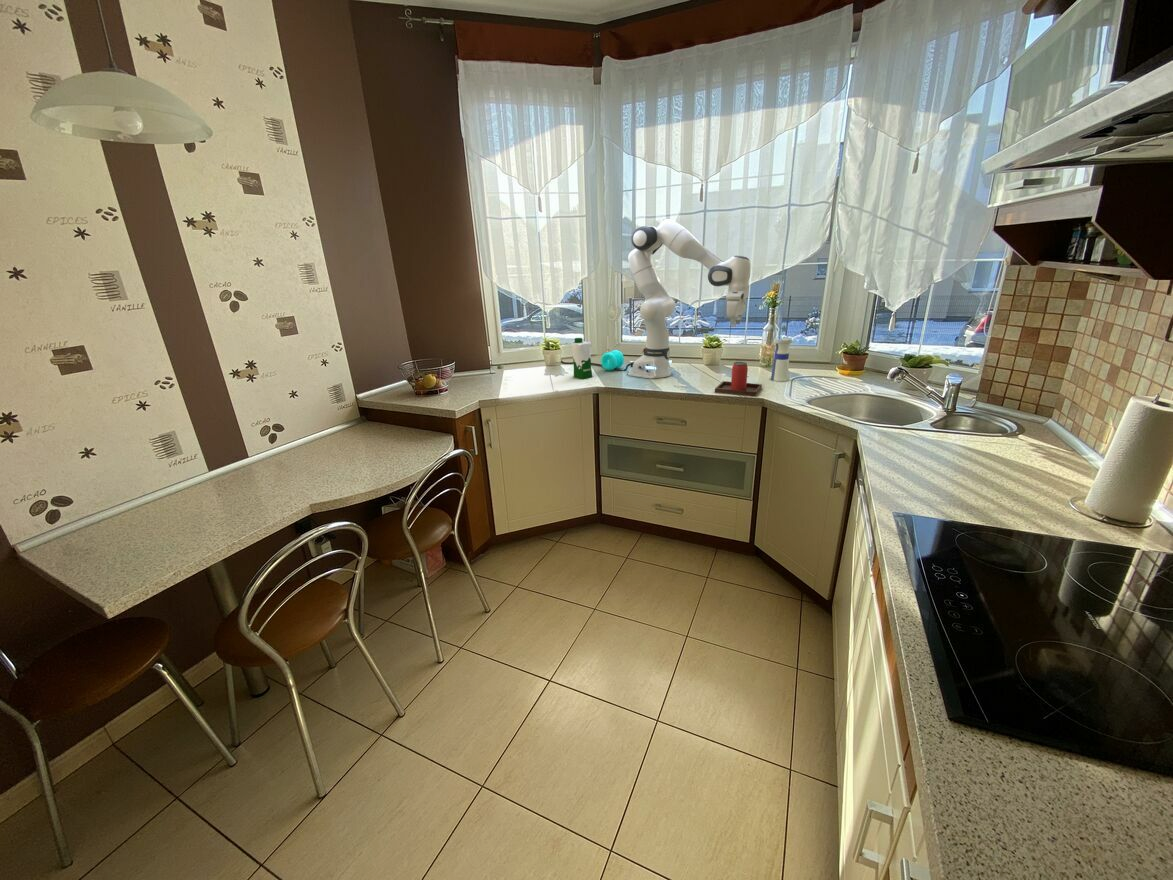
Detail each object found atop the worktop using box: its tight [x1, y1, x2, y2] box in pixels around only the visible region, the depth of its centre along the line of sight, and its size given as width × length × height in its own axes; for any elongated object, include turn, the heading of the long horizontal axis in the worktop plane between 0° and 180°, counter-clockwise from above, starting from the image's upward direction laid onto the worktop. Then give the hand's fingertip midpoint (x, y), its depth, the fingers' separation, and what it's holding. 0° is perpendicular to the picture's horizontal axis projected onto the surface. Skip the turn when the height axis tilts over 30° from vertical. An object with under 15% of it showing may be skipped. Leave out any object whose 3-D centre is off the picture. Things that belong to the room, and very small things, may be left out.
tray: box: [714, 380, 763, 398], centre depth 213 cm, size 18×14×2 cm
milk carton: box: [570, 337, 593, 380], centre depth 247 cm, size 9×9×20 cm
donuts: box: [600, 349, 625, 372], centre depth 262 cm, size 10×10×10 cm
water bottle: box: [770, 325, 793, 382], centre depth 224 cm, size 8×9×25 cm
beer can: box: [730, 361, 749, 391], centre depth 212 cm, size 7×7×12 cm
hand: (735, 325), depth 220 cm, fingers open, 8 cm apart
